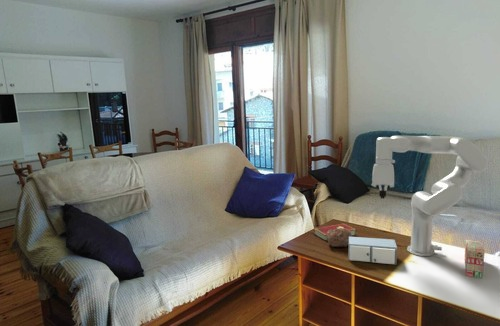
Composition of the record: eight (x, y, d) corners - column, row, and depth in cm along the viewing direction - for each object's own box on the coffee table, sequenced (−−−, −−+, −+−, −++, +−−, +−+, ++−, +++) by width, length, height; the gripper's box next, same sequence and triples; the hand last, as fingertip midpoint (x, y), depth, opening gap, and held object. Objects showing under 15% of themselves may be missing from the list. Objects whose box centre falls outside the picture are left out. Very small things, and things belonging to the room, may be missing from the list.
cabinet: (393, 255, 176) (394, 239, 175) (397, 266, 165) (397, 249, 163) (348, 252, 182) (348, 236, 180) (348, 261, 170) (349, 245, 169)
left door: (396, 264, 166) (397, 248, 165) (397, 266, 164) (397, 250, 162) (372, 261, 169) (372, 246, 168) (372, 264, 167) (372, 248, 165)
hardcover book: (314, 234, 208) (314, 227, 208) (343, 229, 216) (343, 222, 215) (325, 241, 197) (325, 234, 197) (355, 235, 205) (355, 228, 204)
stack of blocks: (464, 257, 172) (465, 233, 170) (479, 259, 169) (481, 235, 167) (465, 275, 154) (467, 249, 152) (482, 279, 151) (484, 252, 149)
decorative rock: (351, 242, 194) (352, 225, 192) (350, 250, 183) (350, 232, 182) (328, 240, 198) (328, 223, 196) (325, 248, 188) (325, 230, 186)
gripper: (398, 161, 174) (397, 196, 177) (367, 160, 178) (366, 195, 181) (401, 163, 167) (399, 200, 170) (368, 163, 171) (367, 199, 174)
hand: (382, 197), depth 176 cm, fingers closed
